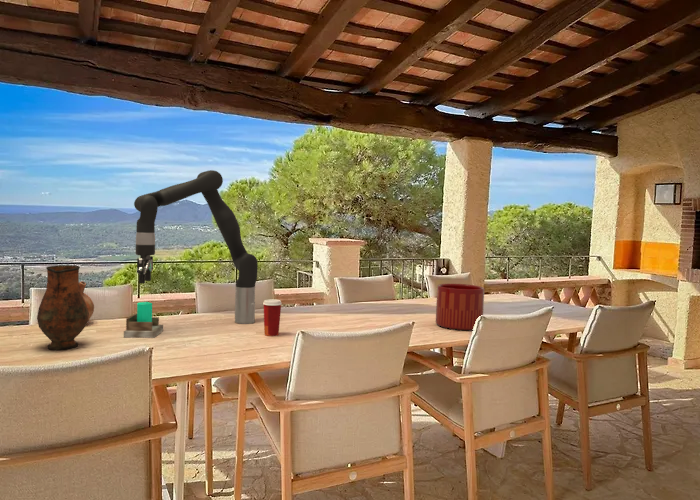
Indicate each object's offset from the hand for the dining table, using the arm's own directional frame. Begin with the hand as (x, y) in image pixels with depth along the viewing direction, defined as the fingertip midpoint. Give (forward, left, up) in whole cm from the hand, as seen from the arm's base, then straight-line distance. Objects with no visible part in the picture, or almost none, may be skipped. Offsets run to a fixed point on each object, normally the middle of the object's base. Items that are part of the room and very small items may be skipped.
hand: (145, 282), depth 209 cm
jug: (+36, -16, -22) cm, 45 cm away
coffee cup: (-53, -1, -22) cm, 57 cm away
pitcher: (+23, +20, -22) cm, 38 cm away
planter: (-145, -24, -22) cm, 149 cm away
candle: (0, 0, -20) cm, 20 cm away
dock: (0, 0, -22) cm, 22 cm away
